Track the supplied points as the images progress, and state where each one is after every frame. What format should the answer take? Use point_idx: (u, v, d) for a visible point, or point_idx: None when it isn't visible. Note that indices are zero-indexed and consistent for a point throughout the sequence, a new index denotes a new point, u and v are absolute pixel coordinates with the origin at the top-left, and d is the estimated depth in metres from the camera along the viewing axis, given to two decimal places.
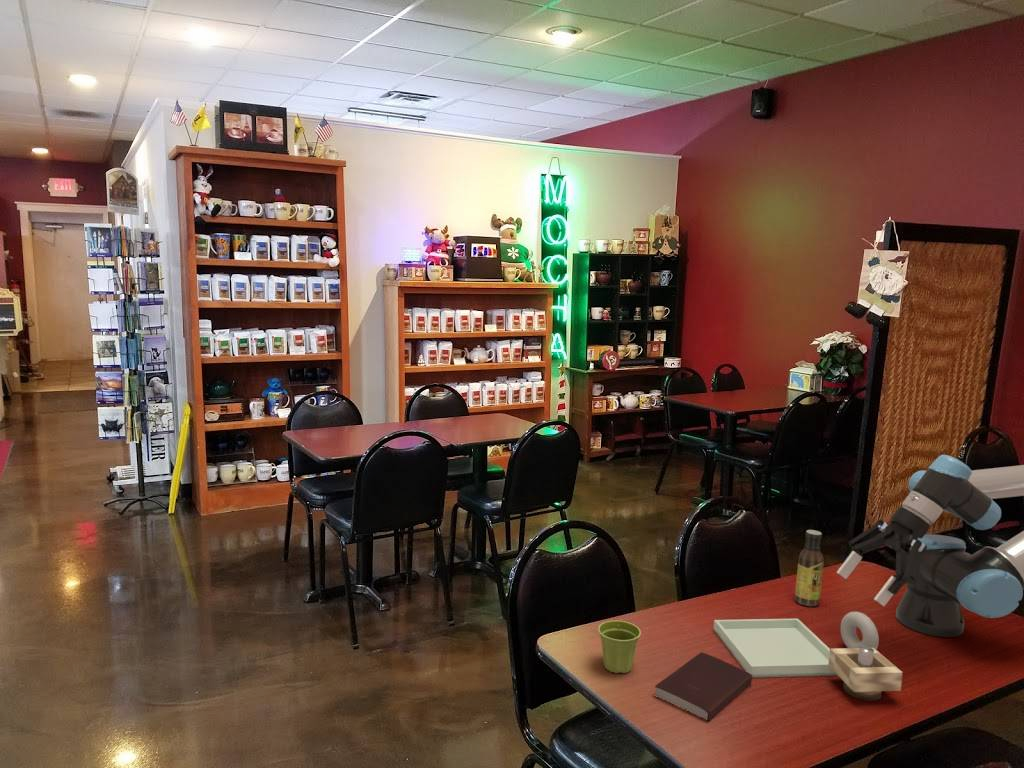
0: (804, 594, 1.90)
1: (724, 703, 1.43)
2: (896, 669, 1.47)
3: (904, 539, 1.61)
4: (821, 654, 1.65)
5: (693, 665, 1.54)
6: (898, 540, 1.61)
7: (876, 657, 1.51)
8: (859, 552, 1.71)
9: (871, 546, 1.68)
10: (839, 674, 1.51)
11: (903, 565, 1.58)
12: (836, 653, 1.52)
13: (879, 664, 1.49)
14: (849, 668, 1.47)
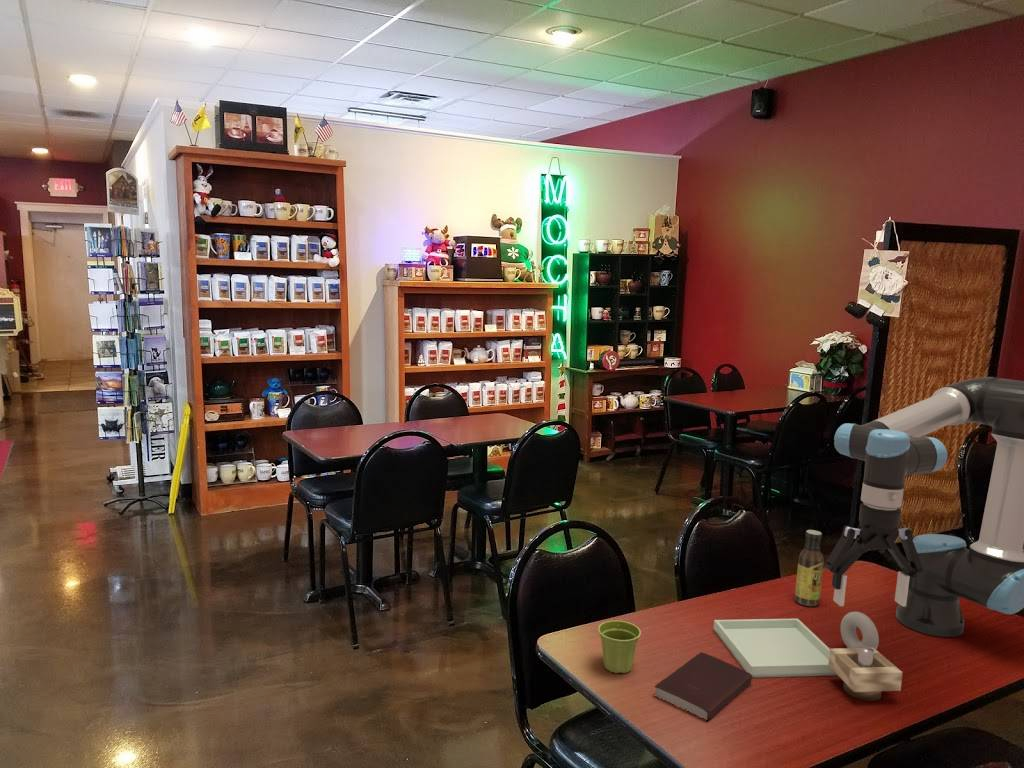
0: (804, 594, 1.90)
1: (724, 703, 1.43)
2: (896, 669, 1.47)
3: (893, 536, 1.46)
4: (821, 654, 1.65)
5: (692, 665, 1.54)
6: (892, 542, 1.45)
7: (876, 657, 1.51)
8: None
9: None
10: (839, 674, 1.51)
11: None
12: (836, 653, 1.52)
13: (879, 664, 1.49)
14: (849, 668, 1.47)
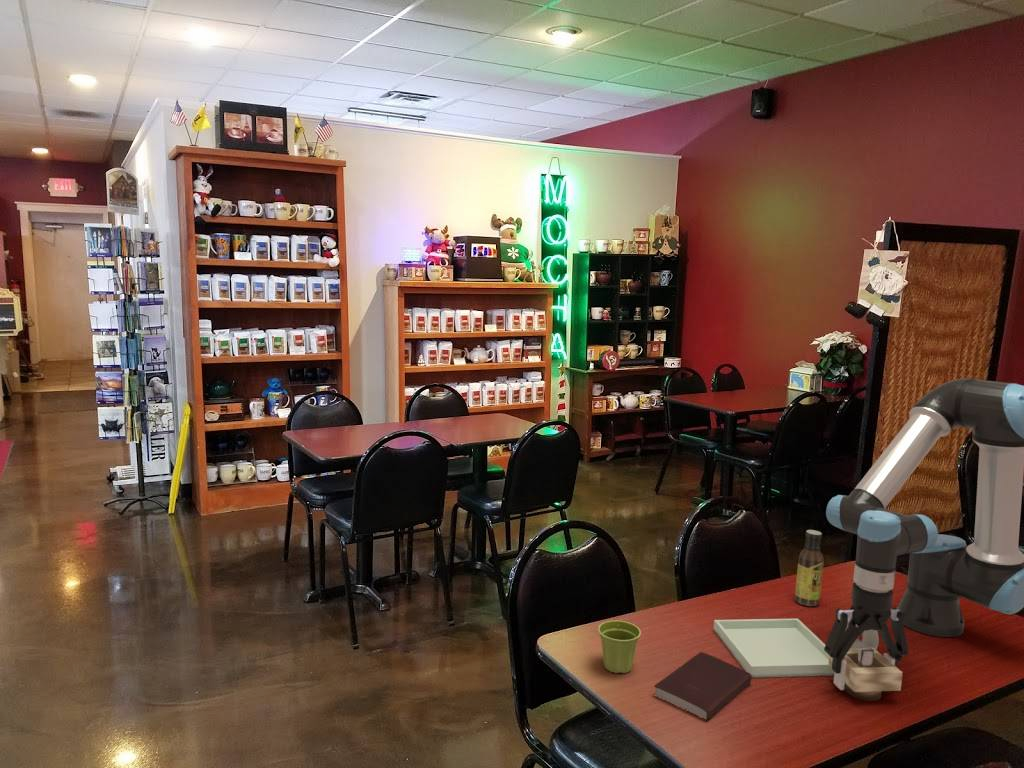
0: (804, 594, 1.90)
1: (723, 703, 1.43)
2: (896, 669, 1.47)
3: (885, 616, 1.48)
4: (821, 654, 1.65)
5: (692, 664, 1.54)
6: (884, 623, 1.47)
7: (876, 657, 1.51)
8: None
9: None
10: None
11: None
12: None
13: (879, 664, 1.49)
14: (849, 668, 1.47)
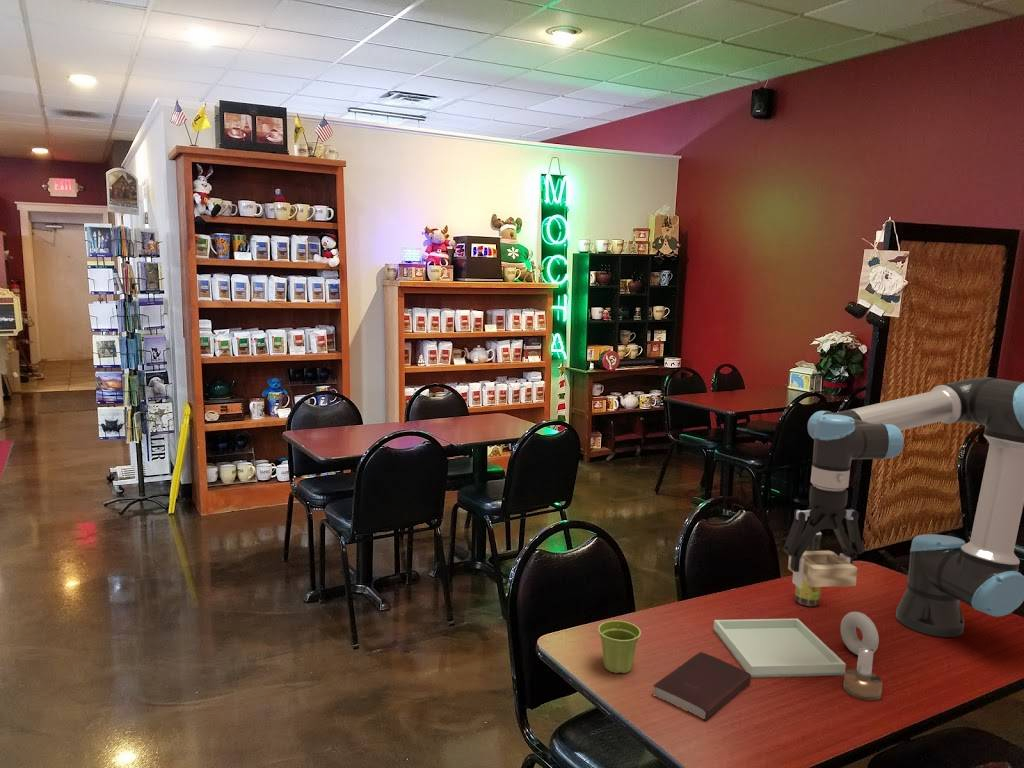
0: (804, 594, 1.90)
1: (722, 702, 1.43)
2: (851, 565, 1.53)
3: (841, 515, 1.54)
4: (821, 654, 1.65)
5: (691, 664, 1.55)
6: (839, 521, 1.53)
7: (833, 557, 1.57)
8: None
9: None
10: None
11: None
12: None
13: (836, 563, 1.55)
14: (807, 565, 1.53)
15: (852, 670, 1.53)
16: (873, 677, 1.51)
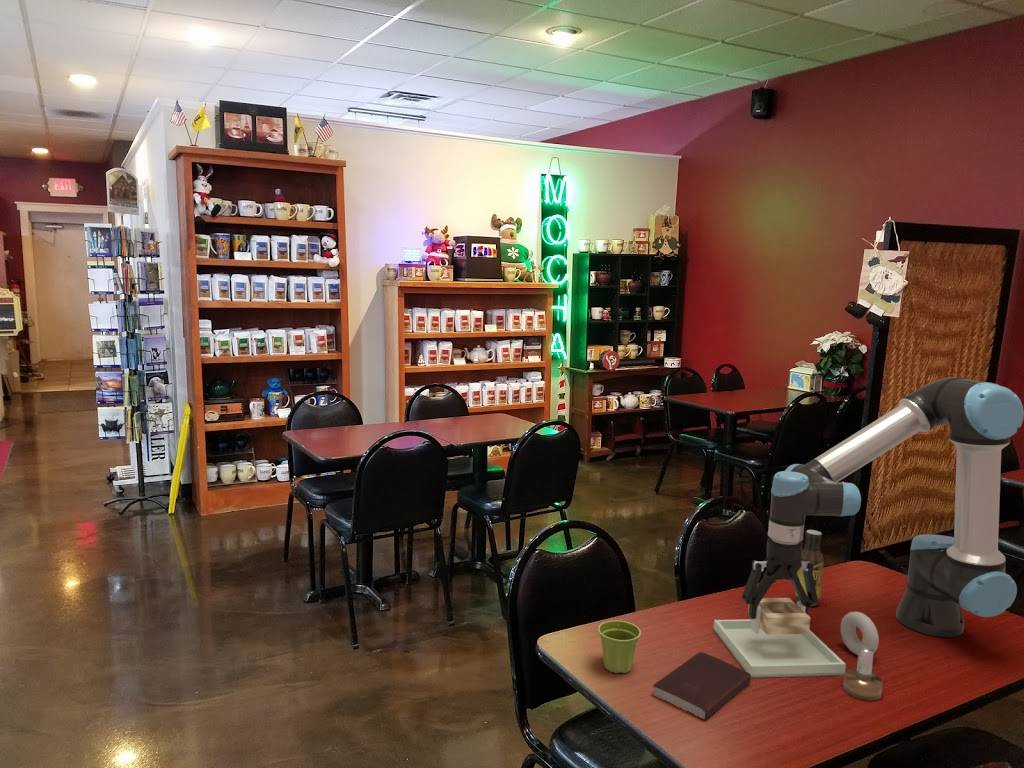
0: None
1: (722, 702, 1.43)
2: (805, 614, 1.62)
3: (796, 567, 1.63)
4: (821, 654, 1.65)
5: (691, 664, 1.55)
6: (794, 573, 1.62)
7: (789, 605, 1.66)
8: None
9: None
10: None
11: None
12: None
13: (792, 611, 1.65)
14: (763, 613, 1.62)
15: (852, 670, 1.53)
16: (873, 677, 1.51)
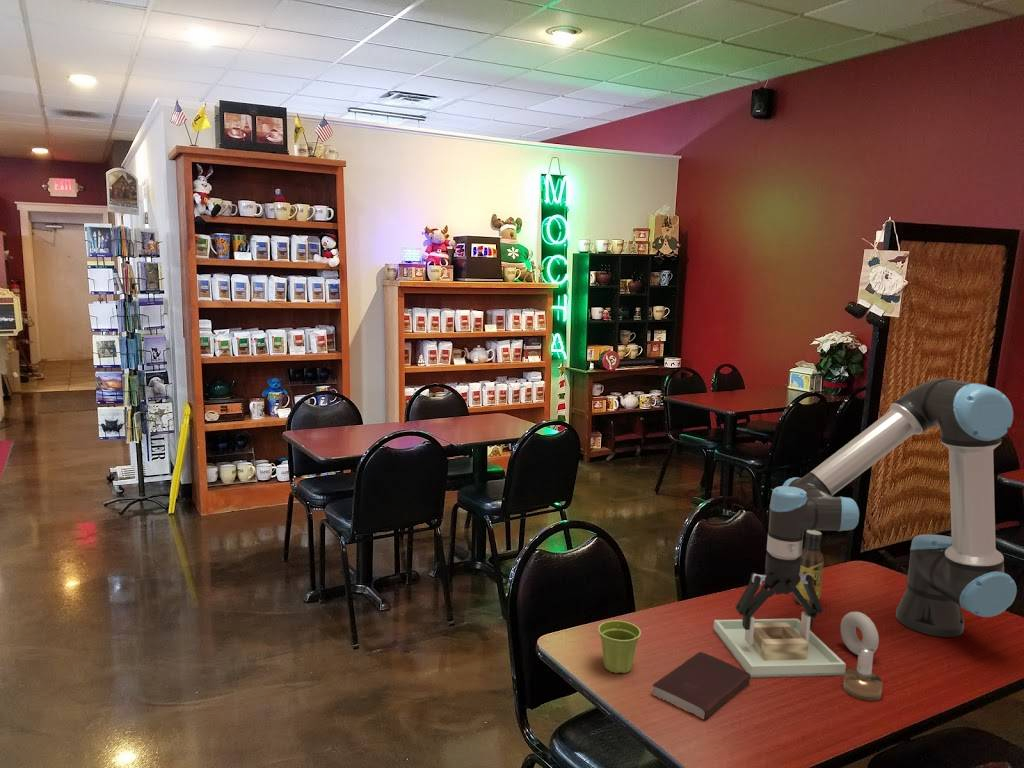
0: (804, 594, 1.90)
1: (721, 702, 1.43)
2: (803, 640, 1.63)
3: (795, 581, 1.63)
4: (821, 654, 1.65)
5: (691, 664, 1.55)
6: (794, 587, 1.63)
7: (788, 630, 1.67)
8: None
9: None
10: (754, 645, 1.67)
11: None
12: None
13: (790, 636, 1.65)
14: (761, 639, 1.63)
15: (852, 670, 1.53)
16: (873, 677, 1.51)
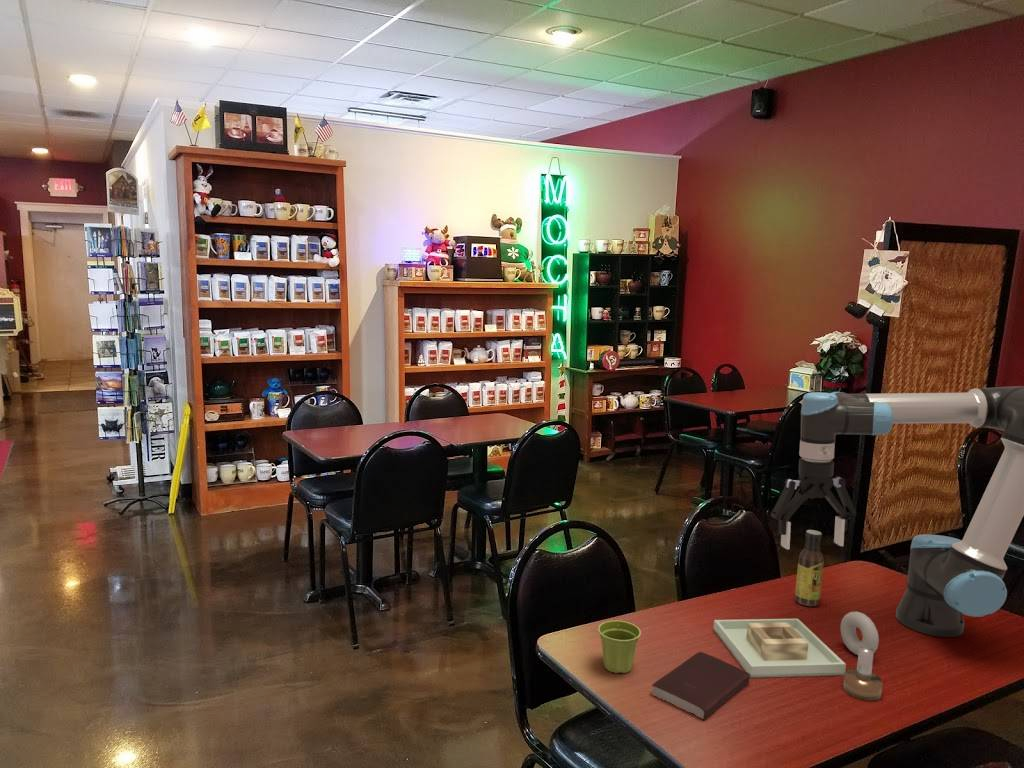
0: (804, 594, 1.90)
1: (721, 702, 1.43)
2: (803, 640, 1.63)
3: (828, 485, 1.67)
4: (821, 654, 1.65)
5: (690, 664, 1.55)
6: (828, 490, 1.66)
7: (788, 630, 1.67)
8: None
9: None
10: (754, 645, 1.67)
11: None
12: (752, 627, 1.68)
13: (790, 636, 1.65)
14: (761, 639, 1.63)
15: (852, 670, 1.53)
16: (873, 677, 1.51)
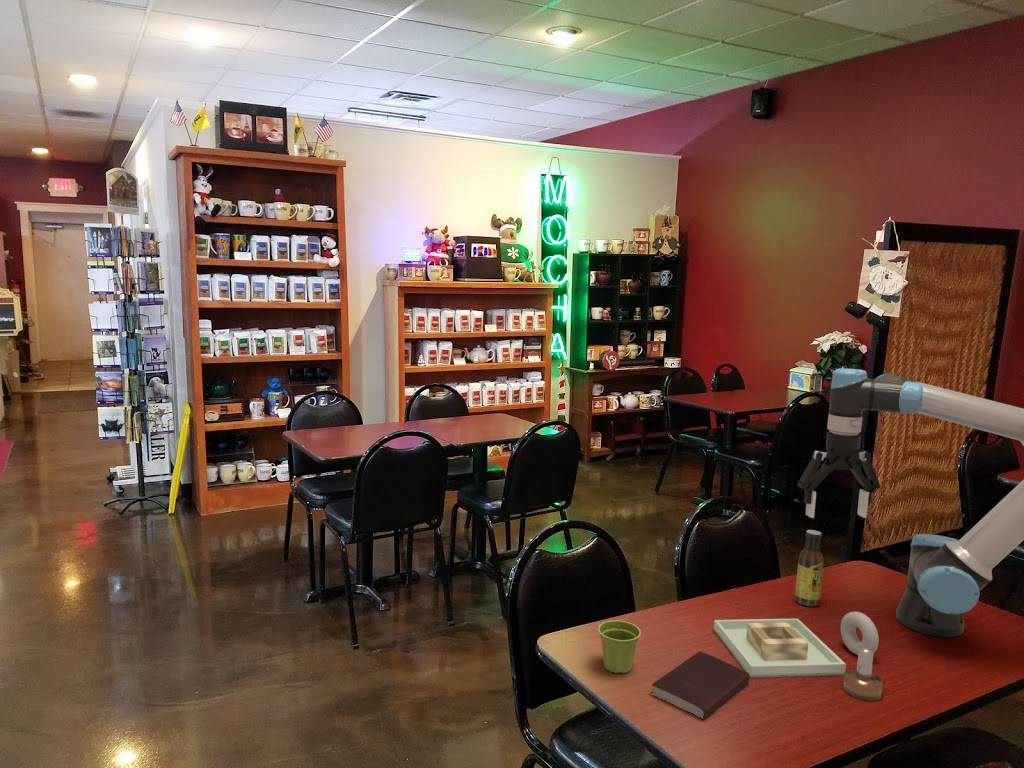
0: (804, 594, 1.90)
1: (720, 702, 1.43)
2: (803, 640, 1.63)
3: (854, 458, 1.73)
4: (821, 654, 1.65)
5: (690, 664, 1.55)
6: (854, 462, 1.73)
7: (788, 630, 1.67)
8: None
9: None
10: (754, 645, 1.67)
11: None
12: (752, 627, 1.68)
13: (790, 636, 1.65)
14: (761, 639, 1.63)
15: (852, 670, 1.53)
16: (873, 677, 1.51)
